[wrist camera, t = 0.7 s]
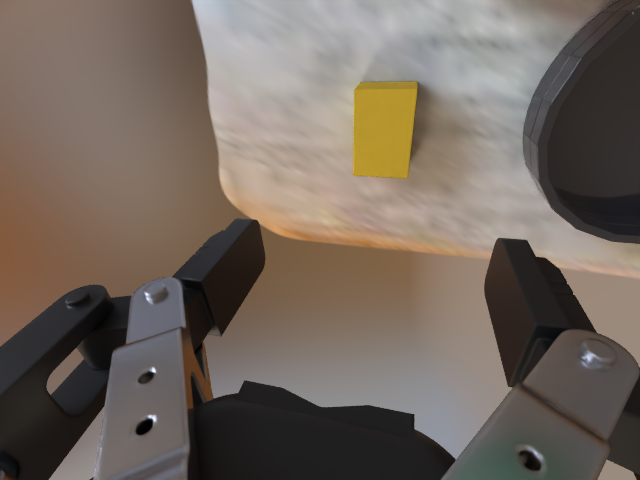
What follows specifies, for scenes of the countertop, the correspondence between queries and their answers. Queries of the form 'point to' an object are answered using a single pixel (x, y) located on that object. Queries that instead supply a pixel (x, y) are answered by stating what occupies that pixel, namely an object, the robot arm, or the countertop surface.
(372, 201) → the countertop surface
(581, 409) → the robot arm
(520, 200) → the countertop surface
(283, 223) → the countertop surface
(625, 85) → the pan
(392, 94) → the sponge
